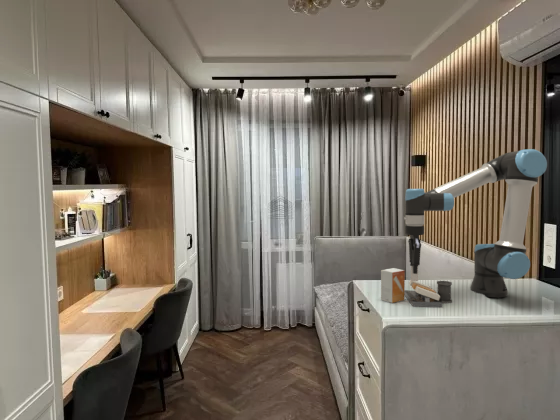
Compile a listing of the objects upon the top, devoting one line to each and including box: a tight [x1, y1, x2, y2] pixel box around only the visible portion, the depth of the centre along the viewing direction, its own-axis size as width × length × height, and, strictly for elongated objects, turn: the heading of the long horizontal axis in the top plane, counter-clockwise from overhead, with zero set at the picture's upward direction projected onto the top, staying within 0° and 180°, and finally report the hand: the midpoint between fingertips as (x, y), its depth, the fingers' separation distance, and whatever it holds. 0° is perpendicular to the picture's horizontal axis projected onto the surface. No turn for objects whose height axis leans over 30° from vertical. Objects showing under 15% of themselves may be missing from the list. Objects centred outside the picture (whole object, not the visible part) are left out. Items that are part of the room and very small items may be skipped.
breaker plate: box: [404, 289, 443, 308], centre depth 159 cm, size 11×18×4 cm, turn 173°
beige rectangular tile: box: [414, 286, 440, 301], centre depth 153 cm, size 9×3×2 cm, turn 83°
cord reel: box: [436, 280, 453, 304], centre depth 158 cm, size 6×6×8 cm
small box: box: [380, 267, 406, 304], centre depth 160 cm, size 8×6×13 cm
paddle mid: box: [411, 283, 437, 293], centre depth 159 cm, size 9×3×2 cm, turn 83°
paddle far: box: [408, 279, 433, 290], centre depth 165 cm, size 9×3×2 cm, turn 82°
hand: (414, 280), depth 159 cm, fingers closed
